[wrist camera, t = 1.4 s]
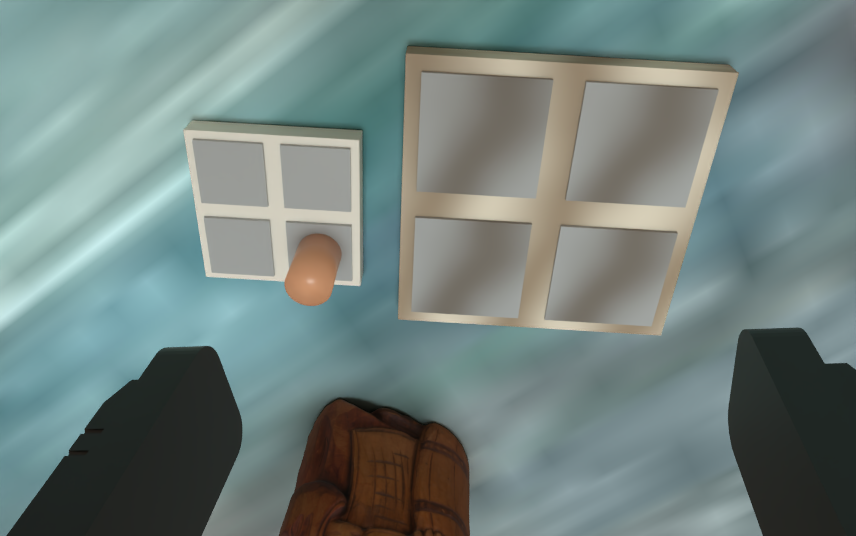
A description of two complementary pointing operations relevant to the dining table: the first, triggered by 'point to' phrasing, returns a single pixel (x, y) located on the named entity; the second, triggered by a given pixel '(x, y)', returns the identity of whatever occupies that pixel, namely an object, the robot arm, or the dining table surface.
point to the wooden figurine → (379, 477)
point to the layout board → (552, 186)
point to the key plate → (279, 204)
